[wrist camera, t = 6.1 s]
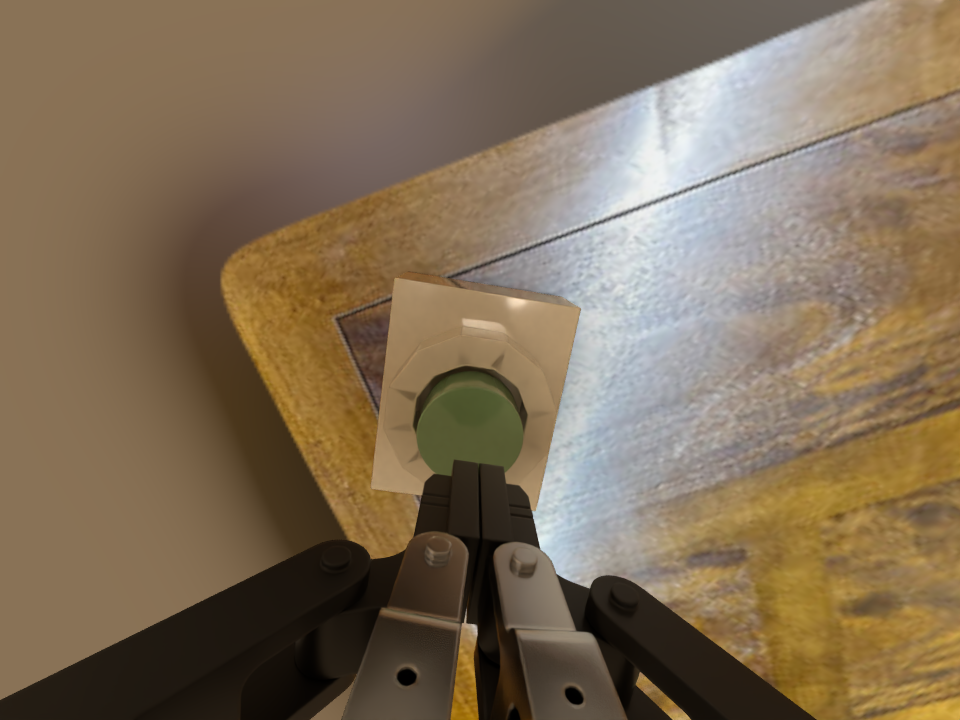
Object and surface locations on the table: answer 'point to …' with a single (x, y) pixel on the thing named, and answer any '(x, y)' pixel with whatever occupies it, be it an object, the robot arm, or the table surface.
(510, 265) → the table surface
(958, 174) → the table surface
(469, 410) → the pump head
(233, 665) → the robot arm
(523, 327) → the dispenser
